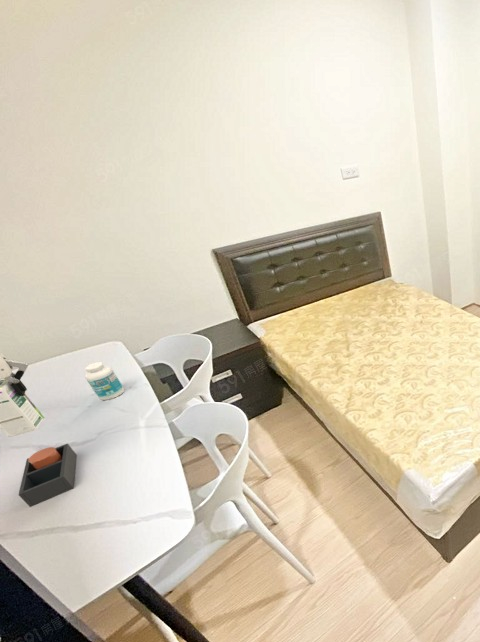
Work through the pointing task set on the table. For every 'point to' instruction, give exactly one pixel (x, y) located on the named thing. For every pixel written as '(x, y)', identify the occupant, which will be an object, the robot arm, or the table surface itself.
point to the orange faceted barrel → (44, 457)
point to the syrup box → (17, 411)
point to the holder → (49, 478)
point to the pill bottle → (103, 381)
